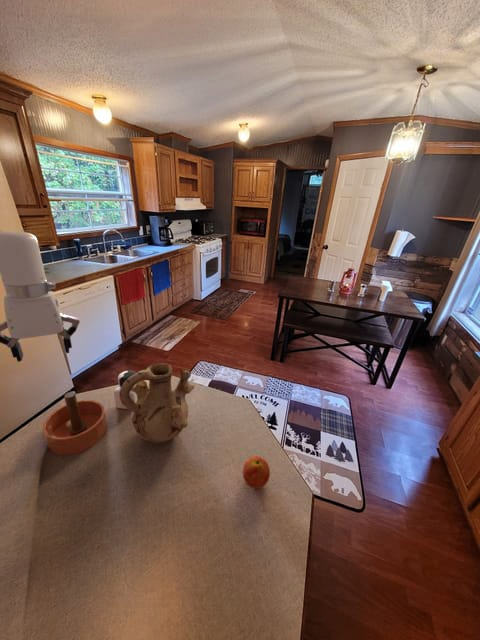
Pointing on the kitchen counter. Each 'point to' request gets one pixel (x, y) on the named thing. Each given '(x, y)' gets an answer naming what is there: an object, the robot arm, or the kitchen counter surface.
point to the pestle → (74, 415)
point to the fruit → (256, 472)
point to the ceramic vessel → (157, 402)
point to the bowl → (67, 444)
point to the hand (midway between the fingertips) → (45, 354)
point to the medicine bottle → (121, 380)
